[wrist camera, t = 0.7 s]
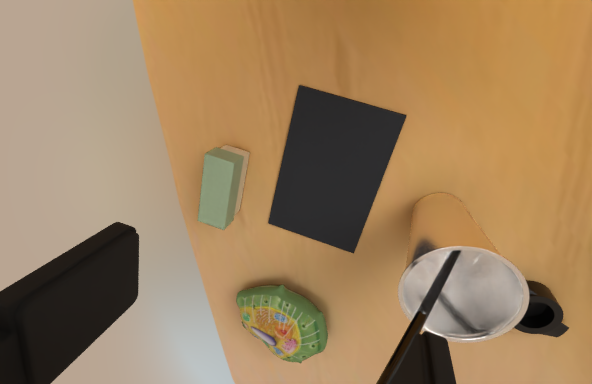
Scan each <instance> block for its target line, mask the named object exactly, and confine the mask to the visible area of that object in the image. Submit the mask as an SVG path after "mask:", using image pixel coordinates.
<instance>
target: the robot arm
mask: <svg viewBox="0 0 592 384" xmlns="http://www.w3.org/2000/svg"><path fill="white" fill-rule="evenodd" d="M138 268H139V235H138V234H137V233H136V230H135V228H134V227H131V226H129V225H126V224H123V223H120V222H116V223H113V224H112V225H110V226H108V227H107V228H105V229H103V230H102V231H100V232H98V233H97V234H95V235H93V236H92V237H90V238H88V239H87V240H85V241H84V242H82V243H80V244H79V245H77V246H75V247H73V248H72V249H70V250H69V251H67V252H65V253H63V254H62V255H60V256H59V257H57V258H55V259H53V260H52V261H50V262H48V263H47V264H45V265H43V266H42V267H40V268H38V269H37V270H35V271H34V272H32V273H30V274H29V275H27V276H25V277H24V278H22V279H20V280H19V281H17V282H15V283H14V284H12V285H10V286H9V287H7V288H5V289H4V290H2V291H0V384H50V383H52V381H54V380H55V379H56V378H57V377H58V376H59V375H60V374H61V373H62V372H63V371H64V370H65V369H66V368H67V367H68V366H69V365H70V364H71V363H72V362H73V361H74V360H75V359H76V358H77V357H78V356H80V355H81V354H82V353H83V352H84V351H85V350H86V349H87V348H88V347H89V346H90V345H91V344H92V343H93V342H94V341H95V340H96V339H97V338H98V337H99V336H100V335H101V334H102V333H103V332H104V331H105V330H107V328H109V327H110V326H111V325H112V324H113V323H114V322H115V321H116V320H117V319H118V318H119V317H120V316H121V315H122V314H123V313H124V312H125V311H126V310H127V309H128V308H129V307H130V306H131V305H132V304H133V303H134V302H135V300H136V299H137V296H138ZM391 384H456V380H455V375H454V371H453V366H452V361H451V356H450V351H449V347H448V342H447V339H446V338H445V337H442V336H439V335H436V334H434V333H431V332H428V331H425V332H423V334H422V335H421V334H418V333H417V334H416V335H415V337H414V339H413V341H412V343H411V345H410V347H409V349H408V351H407V352H406V354H405V356H404V358H403V360H402V362H401V364H400V366H399V368H398V370H397V372H396V374H395V376H394V378H393V380H392V382H391Z"/></svg>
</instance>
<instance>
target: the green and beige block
mask: <svg viewBox="0 0 592 384" xmlns="http://www.w3.org/2000/svg"><path fill="white" fill-rule="evenodd" d="M249 154H250V152H247V151H244V150H241V149H238V148H235V147H232V146H229V145H225V146H223V147H221V148H217V147H216V148H214V149H212V150H210V151H209V152H207V153H205V158H204V167H203V176H202V185H201V194H200V204H199V213H198V221H200V222H203V223H206V224H208V225H211V226H214V227H217V228H219V229H222V230H225V229H226V227H227V226H228V225H229V224H230V223H231V222H232V221H233V219H234V216H235V215H236V214H237V213H238V211H239V210H240V206H241V200H242V194H243V189H244V183H245V177H246V171H247V166H248V160H249Z"/></svg>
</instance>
